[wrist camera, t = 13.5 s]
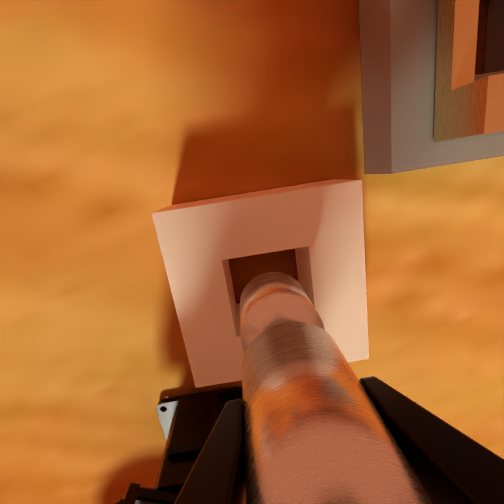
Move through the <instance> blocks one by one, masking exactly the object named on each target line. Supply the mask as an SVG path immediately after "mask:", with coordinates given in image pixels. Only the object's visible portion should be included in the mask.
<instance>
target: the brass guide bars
mask: <svg viewBox="0 0 504 504" xmlns="http://www.w3.org/2000/svg"><path fill="white" fill-rule="evenodd" d="M478 14H479V0H438V16H437V49H436V83H435V116H434V142H439V141H445V140H452V139H458V138H464V137H471V136H477V135H483V134H490V133H496V132H503V131H504V73H503V74H496V75H490V76H487V77H484V78H482V79H479V80H477V81H474V76H475V60H476V45H477V29H478Z"/></svg>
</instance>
